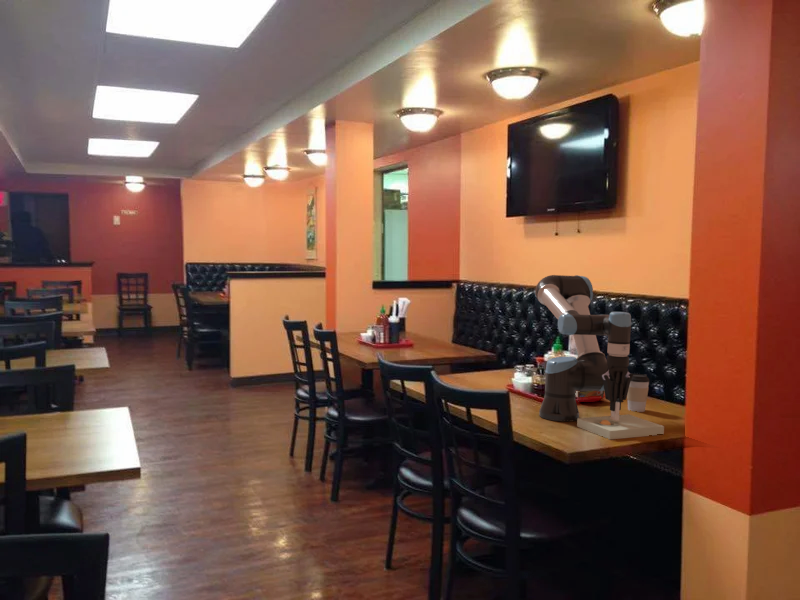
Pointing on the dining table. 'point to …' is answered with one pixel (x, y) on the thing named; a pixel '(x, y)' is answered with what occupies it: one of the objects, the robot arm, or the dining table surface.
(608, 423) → the ball
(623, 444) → the dining table surface
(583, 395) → the tin
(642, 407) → the coffee cup
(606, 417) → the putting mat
